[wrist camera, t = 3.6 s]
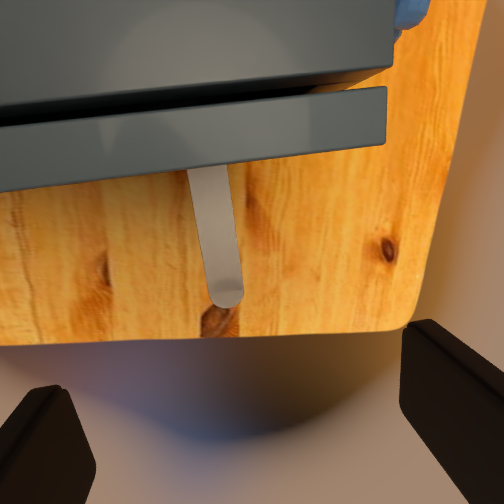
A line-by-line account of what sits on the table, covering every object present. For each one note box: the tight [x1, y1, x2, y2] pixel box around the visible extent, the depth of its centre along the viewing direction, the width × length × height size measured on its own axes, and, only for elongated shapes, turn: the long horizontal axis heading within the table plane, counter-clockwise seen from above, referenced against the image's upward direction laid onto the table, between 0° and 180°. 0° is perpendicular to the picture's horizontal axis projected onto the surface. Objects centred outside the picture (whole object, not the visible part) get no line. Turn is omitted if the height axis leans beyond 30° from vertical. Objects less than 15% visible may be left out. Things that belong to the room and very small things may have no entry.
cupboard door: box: [0, 86, 387, 308], centre depth 17 cm, size 8×24×24 cm, turn 97°
